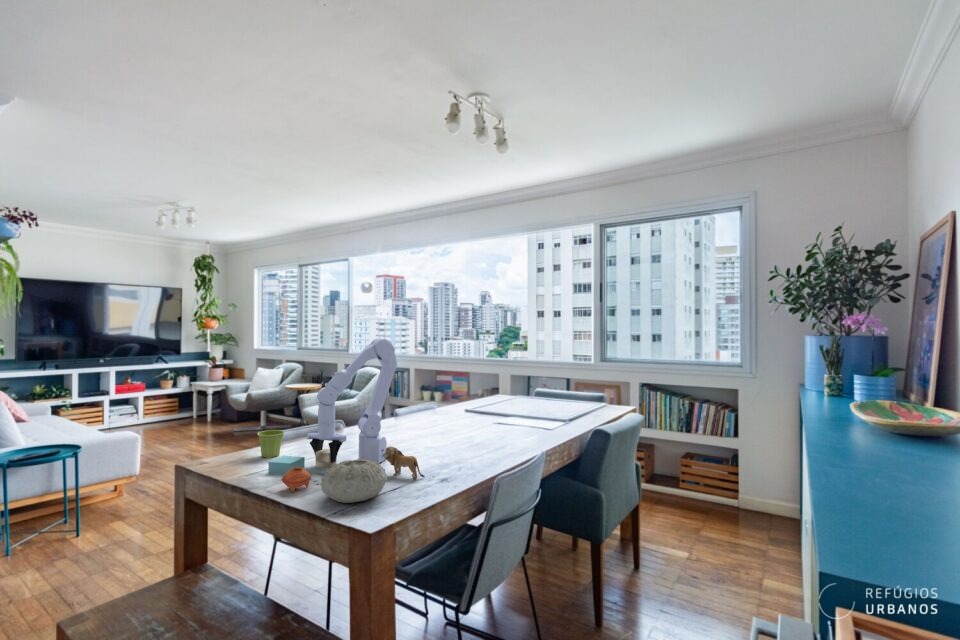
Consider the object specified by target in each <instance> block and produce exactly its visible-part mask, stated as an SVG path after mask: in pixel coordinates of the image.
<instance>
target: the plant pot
mask: <svg viewBox="0 0 960 640" xmlns="http://www.w3.org/2000/svg"><path fill="white" fill-rule="evenodd" d="M285 433H286V432H285V431H284V430H280V429H269V430H263V431H258V432H257V436H258V439H259V446H260V455H261V457H262V458H264V459H265V458H266V459H268V458H269V459H271V458H274V457H278V456H279V457H280V452H281V447H282V441H283V437H284V434H285Z"/></svg>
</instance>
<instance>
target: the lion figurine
mask: <svg viewBox="0 0 960 640" xmlns="http://www.w3.org/2000/svg"><path fill="white" fill-rule="evenodd" d="M383 456H384V457H385V460H386V461H387V462H388V463H390V465H391V466H393V467H394V468H393V469H394V472H395V473H393V474H392V475H393V477H396V476H398V474H401V472H402V467H403V468H408V469H409V470H410V471H411V473H412V474H411V476H412V479H413V480H414V481H415V480H417V479H418V474H419V475H420V477H421V478H425V475H424V474H422V473H421V471H420V467H419V463H418V460H417V457H416V456H414V455H404V454H403V452H402V451H400V449H398V448H396V447H394V446H386V452H385V454H384V455H383ZM385 460H384V461H385ZM417 472H418V473H417Z"/></svg>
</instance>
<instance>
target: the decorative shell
mask: <svg viewBox="0 0 960 640" xmlns="http://www.w3.org/2000/svg"><path fill="white" fill-rule="evenodd" d="M387 480H388V476H387V472H386V468H384V467H383V466H382V465H381V464H380V463H376V462H374V461H371V460H367V459H359V460H356V459H354V460H351V459H350V460H343V461H340V462H338V463H336V464H335V465H334V466H332V467H330V468H328V470H327V471H326V472H325V474H324V475H323V477H322V479H321V481H320V482H321V483H320V485H321V486H320V487H321V491H322V492H323V493H324V494H325V495H326V496H327V497H328V498H330V499H332V500H334V501H335V502H338V503H343V504H349V503H350V504H352V503H357V502H364V501H368V500H370V499H372V498H374V497H376V496H378V495H379V494H380V493H381V492H382V490H383V488H384V486H385V485H386V483H387Z"/></svg>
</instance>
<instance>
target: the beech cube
mask: <svg viewBox="0 0 960 640" xmlns="http://www.w3.org/2000/svg"><path fill="white" fill-rule="evenodd" d="M337 457H338V456H337ZM337 457H336V461H335V462H333V463H331V461H330V448H322V450H320V451H318V452H316V456H315V464H314V465H315V468H324V469H331V468H332V467H333V466H335V464H337V460H338V459H337Z"/></svg>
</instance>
